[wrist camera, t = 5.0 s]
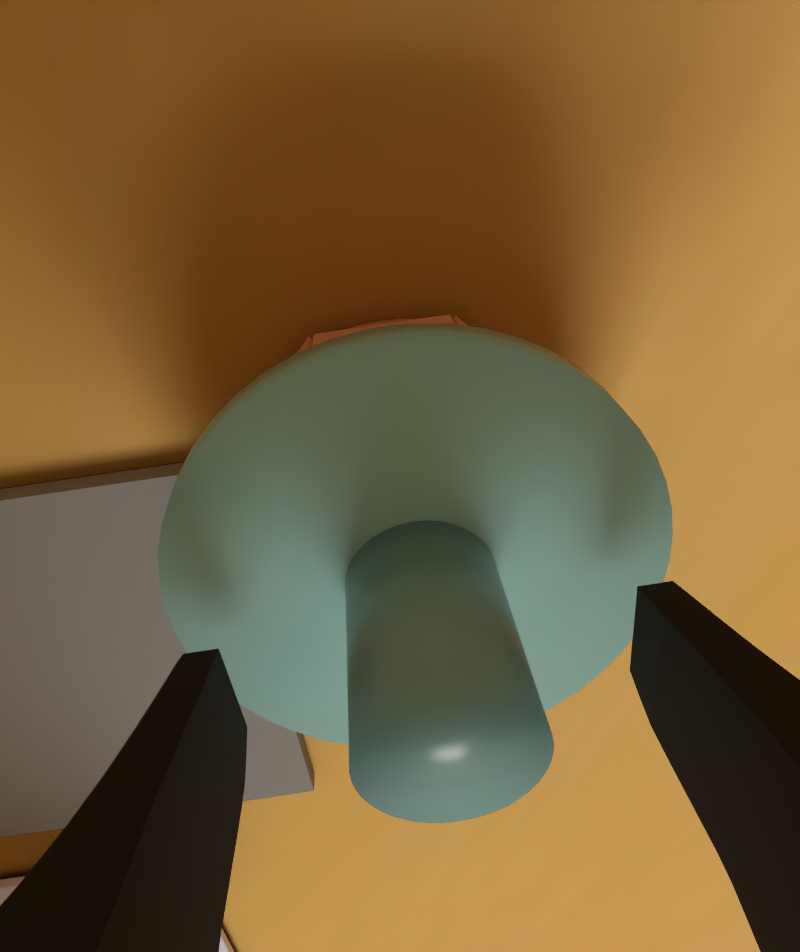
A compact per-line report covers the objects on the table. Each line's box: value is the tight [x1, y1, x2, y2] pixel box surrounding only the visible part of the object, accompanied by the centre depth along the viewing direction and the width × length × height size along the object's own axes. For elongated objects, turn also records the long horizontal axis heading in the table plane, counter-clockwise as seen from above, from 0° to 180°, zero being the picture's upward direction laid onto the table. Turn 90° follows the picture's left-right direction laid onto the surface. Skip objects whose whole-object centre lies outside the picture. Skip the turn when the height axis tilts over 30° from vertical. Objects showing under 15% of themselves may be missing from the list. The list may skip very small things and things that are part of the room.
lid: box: [158, 323, 673, 823], centre depth 12 cm, size 10×10×5 cm
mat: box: [0, 462, 314, 838], centre depth 20 cm, size 13×12×1 cm
